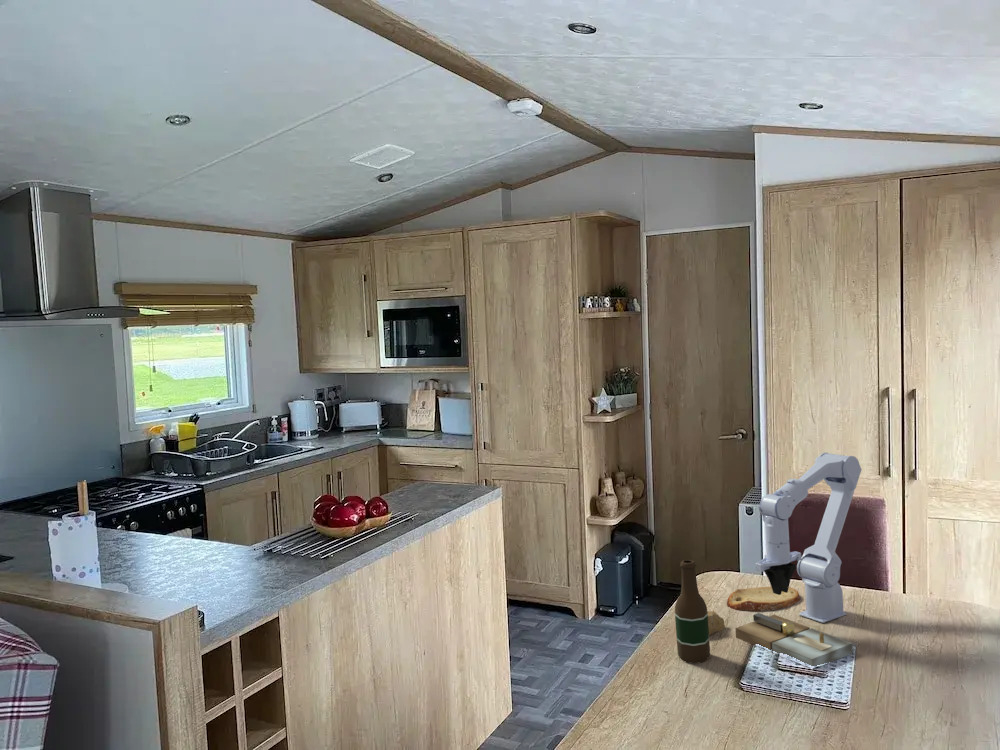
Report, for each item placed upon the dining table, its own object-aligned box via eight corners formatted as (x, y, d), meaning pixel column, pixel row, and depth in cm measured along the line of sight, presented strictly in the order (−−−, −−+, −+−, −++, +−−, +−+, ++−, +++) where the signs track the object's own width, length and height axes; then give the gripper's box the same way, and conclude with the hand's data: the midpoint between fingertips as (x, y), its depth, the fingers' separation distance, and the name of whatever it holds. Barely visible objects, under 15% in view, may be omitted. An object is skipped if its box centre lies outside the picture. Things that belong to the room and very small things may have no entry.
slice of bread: (803, 595, 233) (802, 583, 233) (788, 618, 218) (788, 604, 218) (741, 588, 243) (740, 576, 243) (723, 609, 228) (722, 596, 228)
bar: (797, 633, 200) (796, 623, 200) (789, 636, 199) (788, 626, 199) (760, 620, 211) (759, 610, 211) (752, 622, 209) (752, 612, 209)
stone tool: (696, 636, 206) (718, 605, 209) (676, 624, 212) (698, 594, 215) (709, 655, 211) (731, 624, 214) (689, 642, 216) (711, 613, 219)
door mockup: (774, 623, 214) (773, 606, 214) (852, 653, 193) (851, 633, 193) (735, 637, 207) (734, 619, 207) (812, 669, 186) (811, 649, 186)
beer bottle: (711, 664, 193) (705, 566, 192) (678, 663, 195) (671, 566, 193) (709, 650, 201) (703, 556, 199) (677, 650, 203) (671, 556, 201)
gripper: (785, 532, 215) (787, 582, 216) (745, 543, 208) (748, 595, 209) (806, 537, 209) (809, 589, 210) (766, 549, 202) (769, 602, 203)
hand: (780, 592), depth 209 cm, fingers closed
